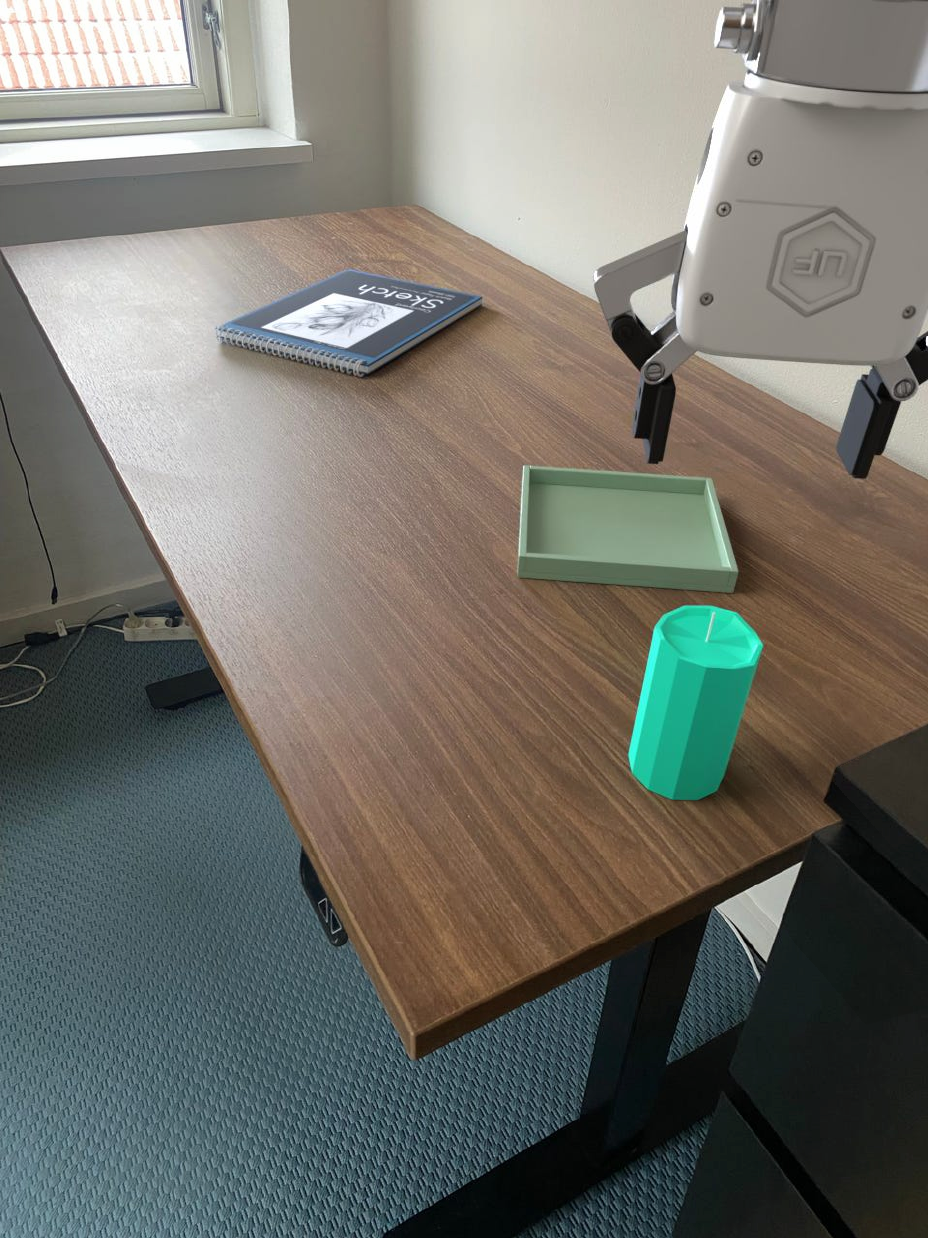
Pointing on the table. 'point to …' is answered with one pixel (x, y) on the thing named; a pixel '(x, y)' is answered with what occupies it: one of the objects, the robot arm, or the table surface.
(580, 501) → the tray
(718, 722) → the candle
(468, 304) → the sketchbook
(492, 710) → the table surface
